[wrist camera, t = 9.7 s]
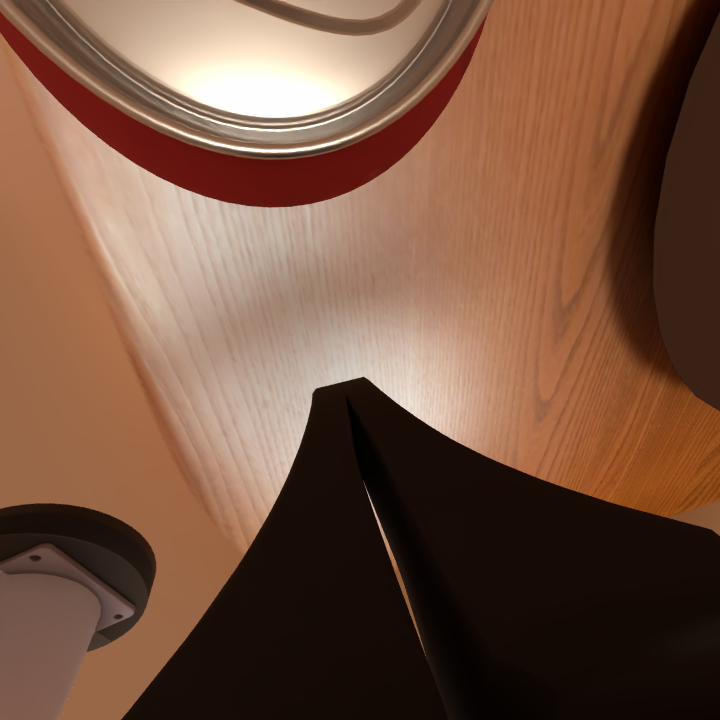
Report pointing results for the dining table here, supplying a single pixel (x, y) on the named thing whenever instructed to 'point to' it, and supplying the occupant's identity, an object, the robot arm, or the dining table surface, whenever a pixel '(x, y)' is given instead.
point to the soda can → (251, 84)
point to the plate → (692, 233)
